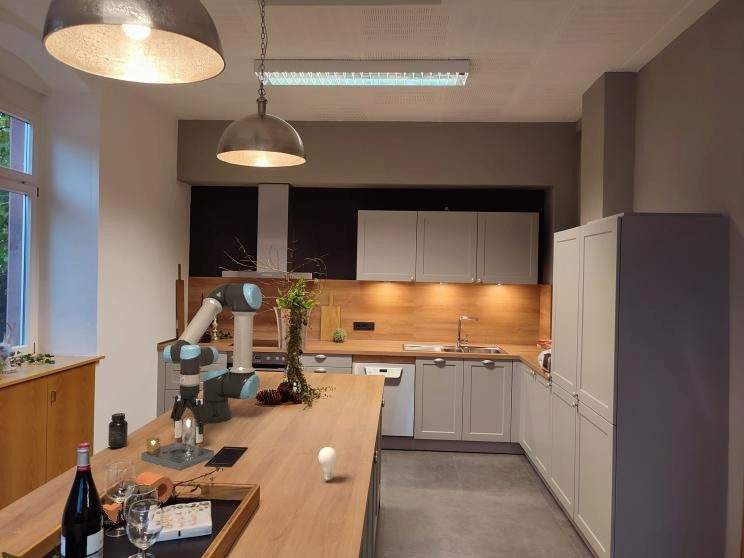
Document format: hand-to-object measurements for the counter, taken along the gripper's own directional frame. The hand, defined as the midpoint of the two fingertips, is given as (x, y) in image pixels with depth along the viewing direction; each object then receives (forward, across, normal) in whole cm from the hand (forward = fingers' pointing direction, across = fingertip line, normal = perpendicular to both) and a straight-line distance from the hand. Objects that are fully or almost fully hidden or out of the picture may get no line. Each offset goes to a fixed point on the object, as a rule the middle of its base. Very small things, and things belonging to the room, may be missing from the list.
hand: (188, 439), depth 209 cm
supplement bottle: (+3, -25, -14) cm, 28 cm away
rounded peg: (+3, 0, 0) cm, 3 cm away
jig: (+3, +8, -12) cm, 15 cm away
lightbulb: (+3, +66, 0) cm, 66 cm away
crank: (+3, +30, -47) cm, 56 cm away
